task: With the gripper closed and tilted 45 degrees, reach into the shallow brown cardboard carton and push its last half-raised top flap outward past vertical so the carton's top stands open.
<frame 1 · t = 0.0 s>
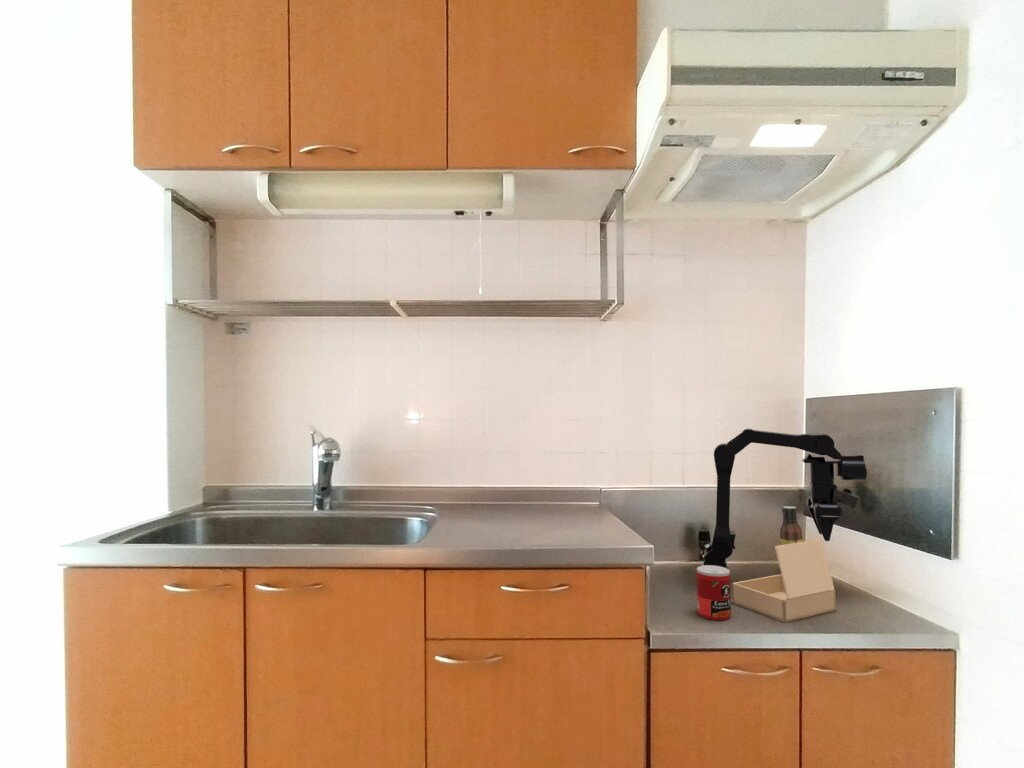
hand: (824, 537, 163), 15 cm above the table, tool pointing down, fingers open, 9 cm apart
sauce bottle: (793, 573, 181), on the table
canned food: (714, 616, 145), on the table
carton: (783, 606, 151), on the table
carton flap: (804, 567, 145), point 11 cm above the table, hinge at 75.0°
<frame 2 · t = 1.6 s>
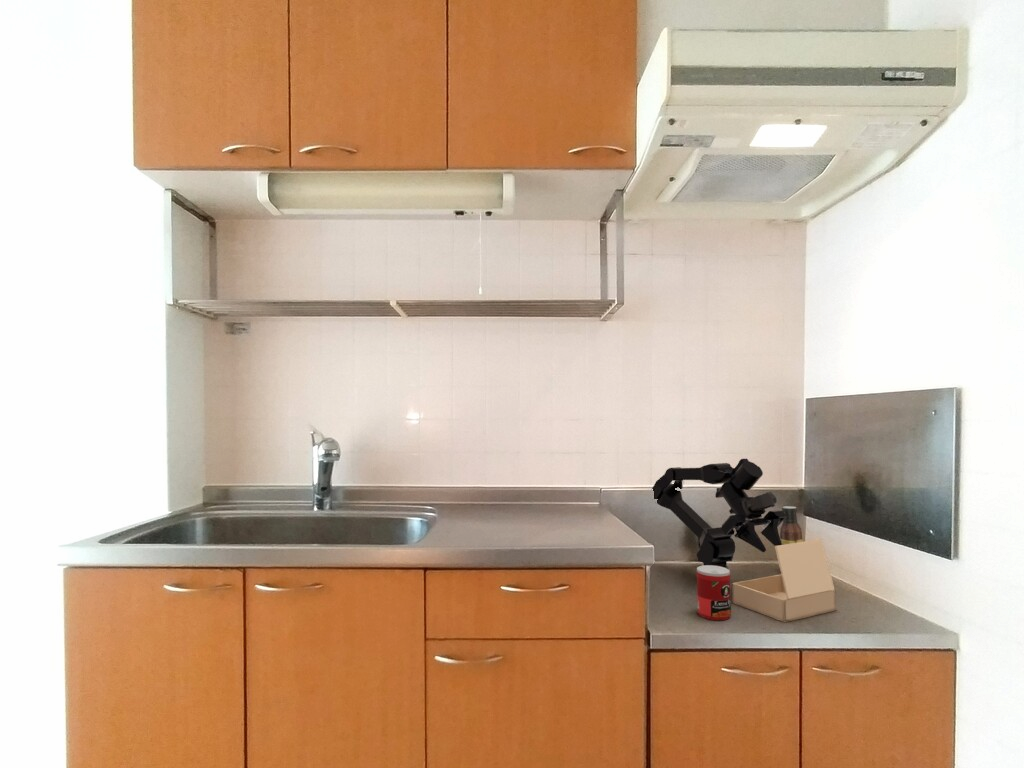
hand: (773, 550, 154), 14 cm above the table, tool tilted 45°, fingers open, 6 cm apart
nothing on the table moved.
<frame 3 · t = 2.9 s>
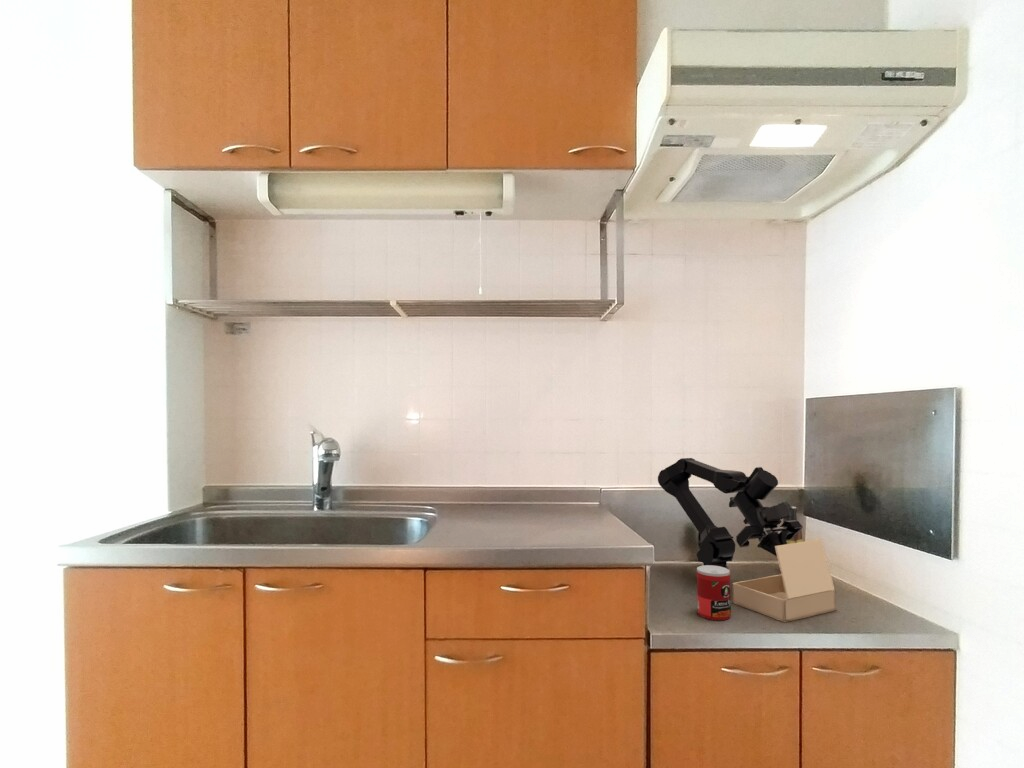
hand: (789, 561, 149), 12 cm above the table, tool tilted 45°, fingers closed
nothing on the table moved.
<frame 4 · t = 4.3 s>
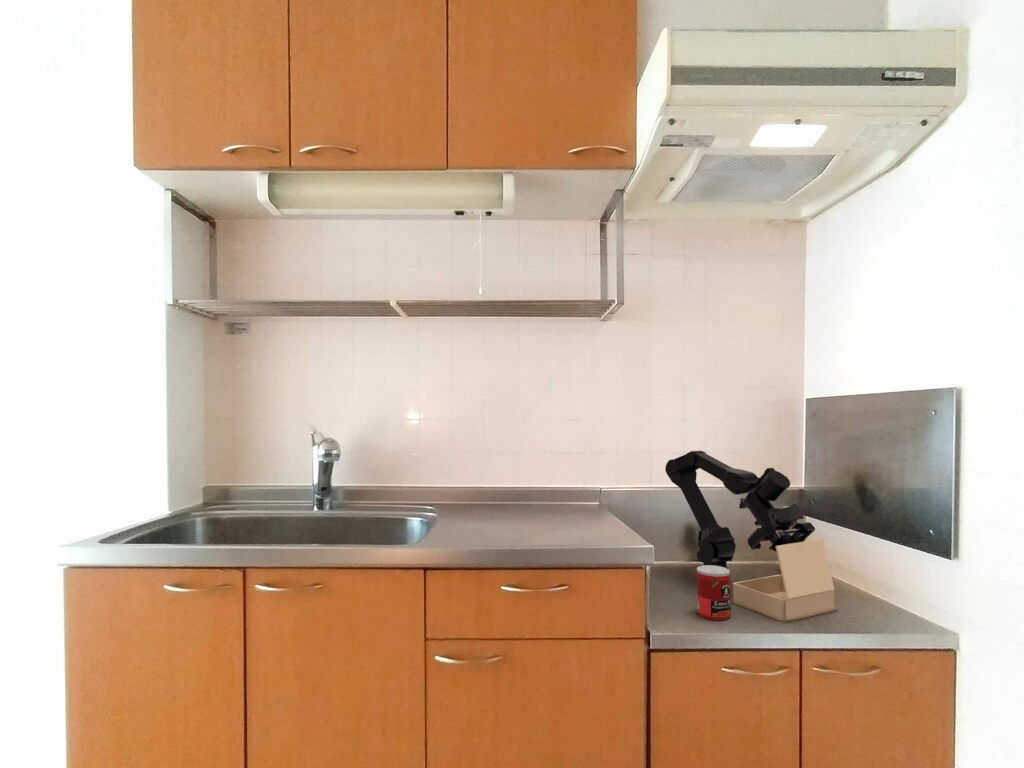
hand: (802, 564, 146), 12 cm above the table, tool tilted 45°, fingers closed, pressing on carton flap
carton flap: (805, 567, 145), point 11 cm above the table, hinge at 76.4°, touching gripper
everything else where it was.
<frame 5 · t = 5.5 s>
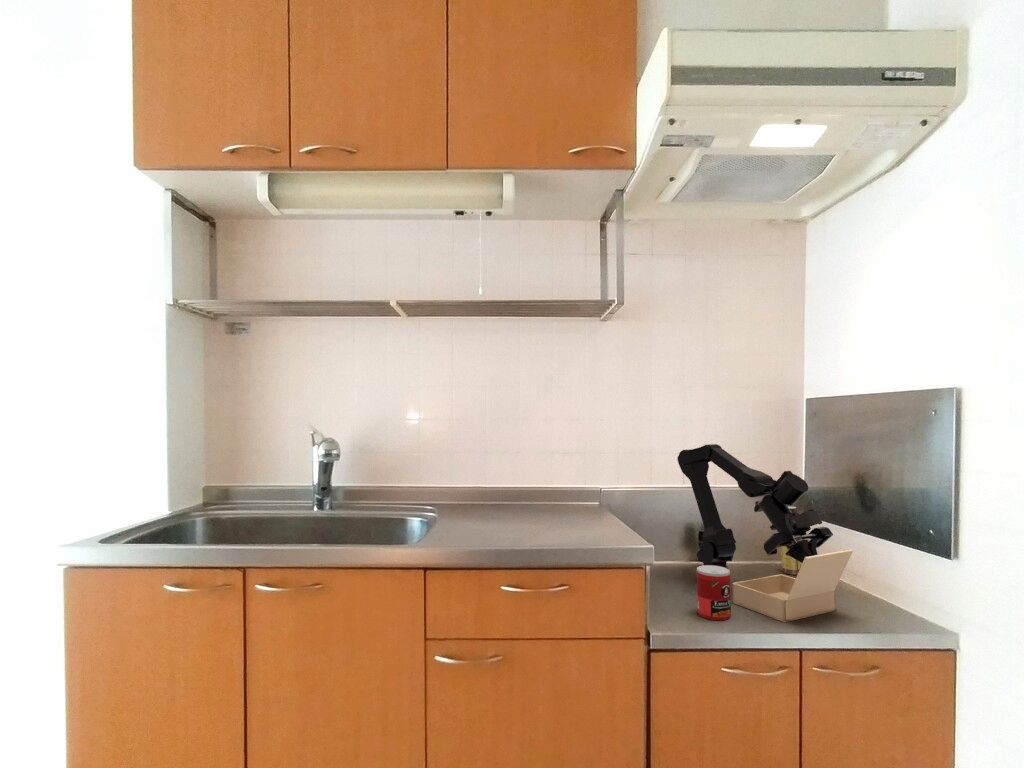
hand: (820, 571, 141), 11 cm above the table, tool tilted 45°, fingers closed, pressing on carton flap
carton flap: (820, 574, 141), point 11 cm above the table, hinge at 116.1°, touching gripper
everything else where it was.
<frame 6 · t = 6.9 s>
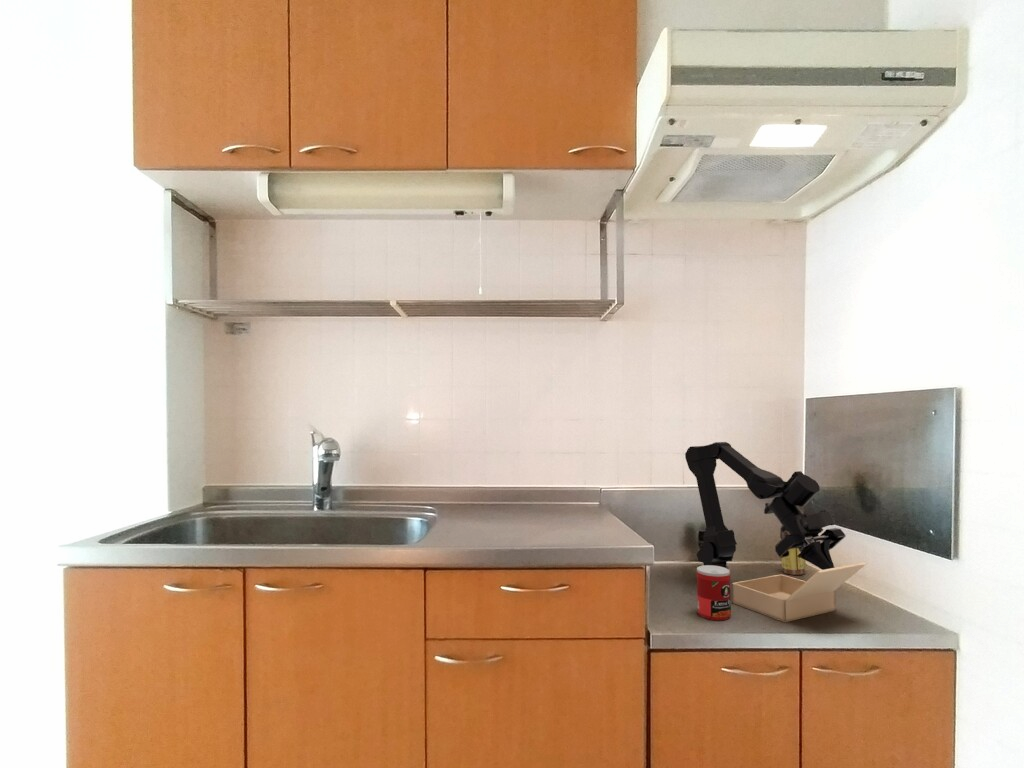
hand: (833, 573, 138), 12 cm above the table, tool tilted 45°, fingers closed, pressing on carton flap
carton flap: (826, 581, 140), point 9 cm above the table, hinge at 135.1°, touching gripper
everything else where it was.
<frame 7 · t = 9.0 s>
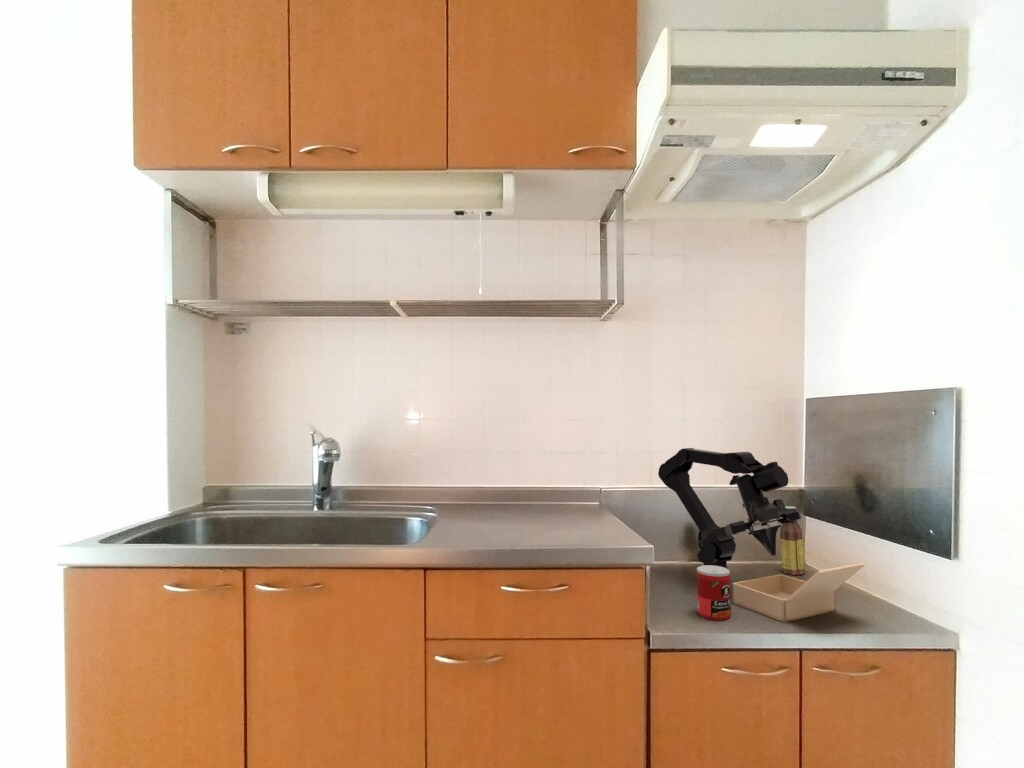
hand: (773, 555, 156), 12 cm above the table, tool tilted 20°, fingers closed
carton flap: (826, 581, 140), point 9 cm above the table, hinge at 135.1°
everything else where it was.
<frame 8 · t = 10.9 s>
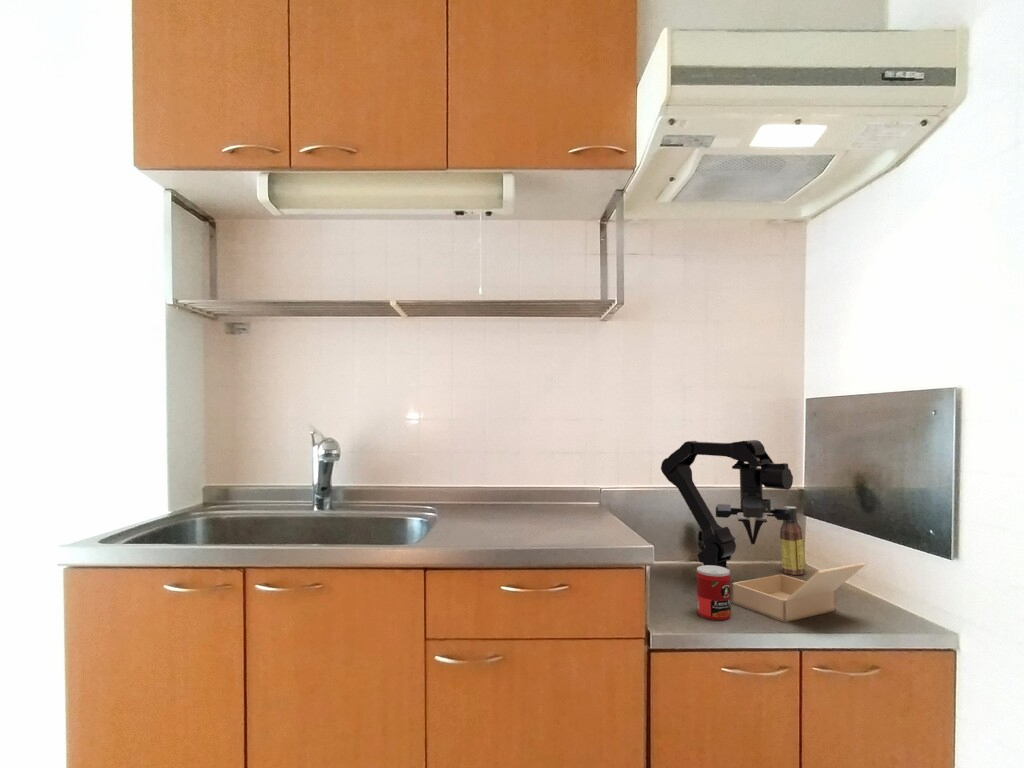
hand: (752, 544, 163), 13 cm above the table, tool pointing down, fingers closed
nothing on the table moved.
at the end: carton flap at +135° (first picture: +75°); sauce bottle moved 0.2 cm from its start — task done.
